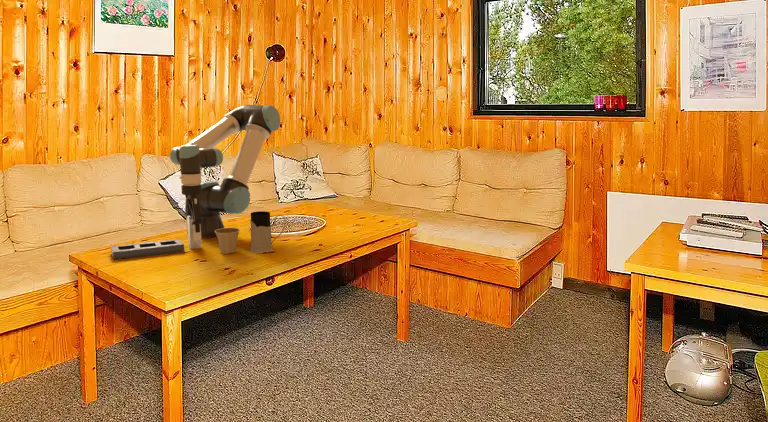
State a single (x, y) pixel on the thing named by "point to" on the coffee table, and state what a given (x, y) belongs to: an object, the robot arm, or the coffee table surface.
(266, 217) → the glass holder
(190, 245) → the beige tall block
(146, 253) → the dark grey ladder frame
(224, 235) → the flower pot
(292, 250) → the coffee table surface
